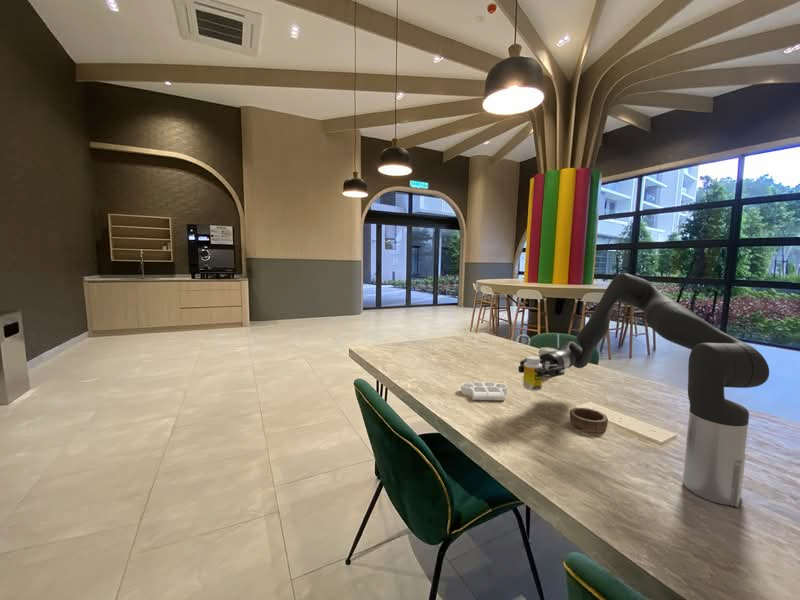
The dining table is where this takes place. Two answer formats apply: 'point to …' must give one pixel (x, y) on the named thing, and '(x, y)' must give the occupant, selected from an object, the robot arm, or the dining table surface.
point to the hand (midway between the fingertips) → (528, 371)
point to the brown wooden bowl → (588, 420)
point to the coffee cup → (545, 350)
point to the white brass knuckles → (485, 390)
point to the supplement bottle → (532, 374)
